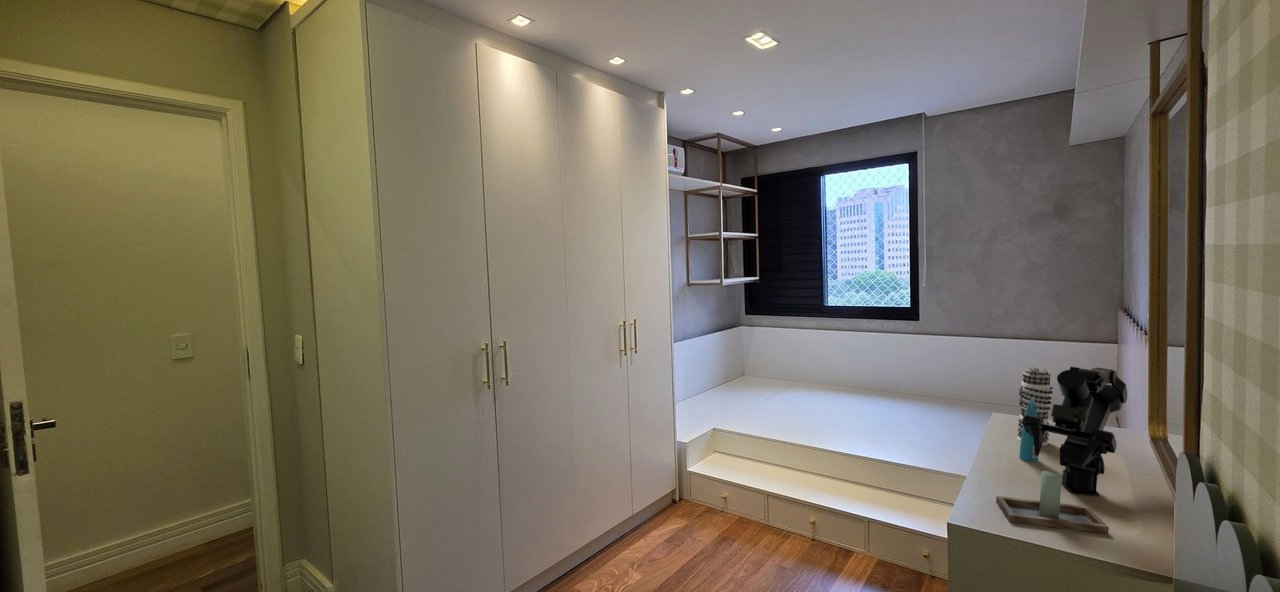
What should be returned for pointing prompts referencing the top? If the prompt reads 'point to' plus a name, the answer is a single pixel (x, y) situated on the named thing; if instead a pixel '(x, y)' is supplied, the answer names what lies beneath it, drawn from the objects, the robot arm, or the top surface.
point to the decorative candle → (1035, 396)
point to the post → (1050, 494)
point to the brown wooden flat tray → (1068, 518)
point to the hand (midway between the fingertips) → (1057, 461)
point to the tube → (1028, 437)
